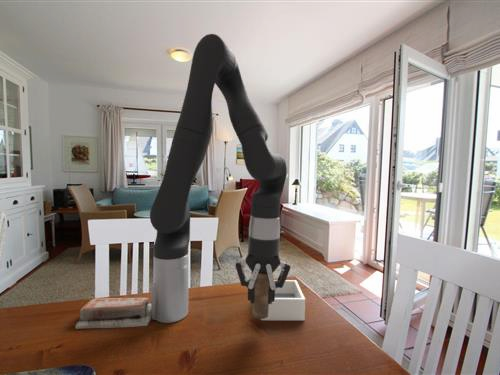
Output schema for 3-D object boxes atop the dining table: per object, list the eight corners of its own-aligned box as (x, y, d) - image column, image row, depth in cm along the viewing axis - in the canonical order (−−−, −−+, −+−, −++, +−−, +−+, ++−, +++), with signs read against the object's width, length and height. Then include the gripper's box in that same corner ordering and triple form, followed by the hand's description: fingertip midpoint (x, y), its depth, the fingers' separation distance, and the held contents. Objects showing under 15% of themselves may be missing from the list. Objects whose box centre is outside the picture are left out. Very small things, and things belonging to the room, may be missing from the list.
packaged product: (73, 312, 65) (93, 293, 75) (74, 331, 66) (93, 309, 75) (147, 309, 67) (157, 291, 77) (148, 327, 67) (157, 307, 77)
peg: (252, 318, 63) (254, 274, 62) (252, 309, 67) (254, 268, 66) (268, 319, 63) (271, 275, 62) (267, 310, 67) (269, 268, 66)
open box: (260, 320, 71) (261, 299, 70) (258, 298, 83) (258, 279, 82) (304, 320, 71) (305, 299, 71) (295, 298, 83) (296, 280, 83)
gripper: (234, 237, 60) (231, 309, 61) (296, 239, 60) (291, 311, 61) (235, 229, 67) (233, 293, 68) (290, 231, 67) (287, 295, 69)
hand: (260, 301), depth 65 cm, fingers closed on peg, 4 cm apart
